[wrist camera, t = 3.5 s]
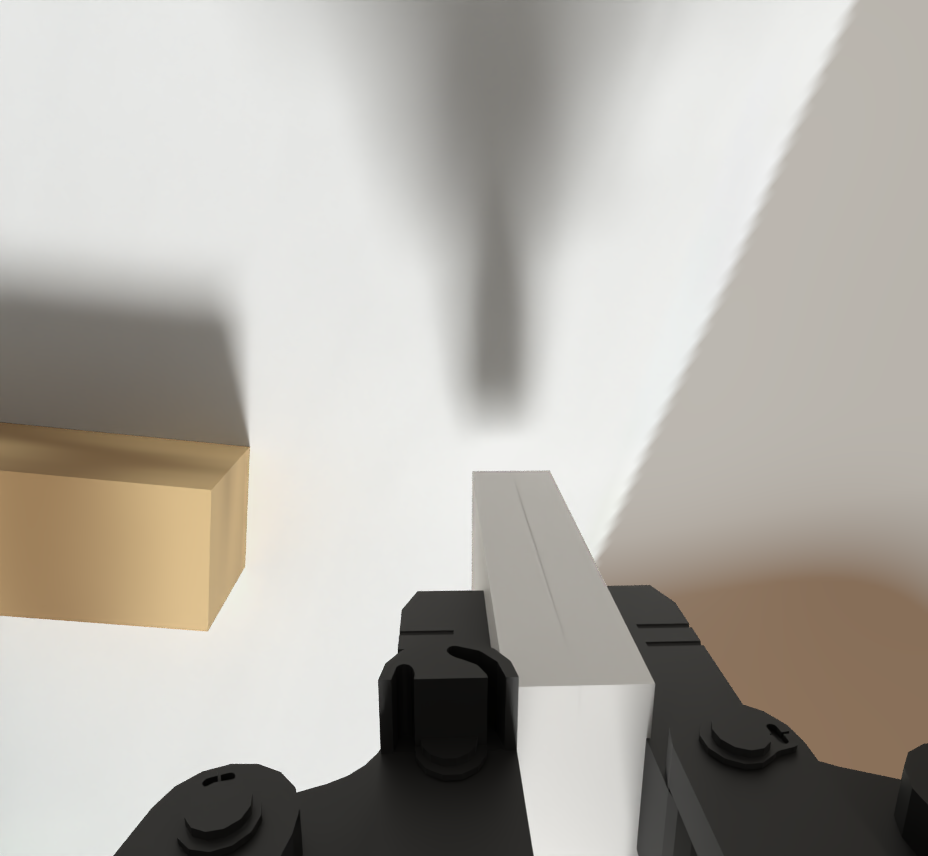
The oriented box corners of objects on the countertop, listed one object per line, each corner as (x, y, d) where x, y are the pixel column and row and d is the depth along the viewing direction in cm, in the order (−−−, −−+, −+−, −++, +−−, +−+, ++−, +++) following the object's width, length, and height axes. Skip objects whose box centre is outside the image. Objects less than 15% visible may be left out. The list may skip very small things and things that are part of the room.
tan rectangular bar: (-58, 536, 16) (-169, 602, 13) (-69, 412, 15) (-189, 453, 12) (247, 562, 16) (207, 631, 13) (252, 444, 15) (211, 489, 13)
